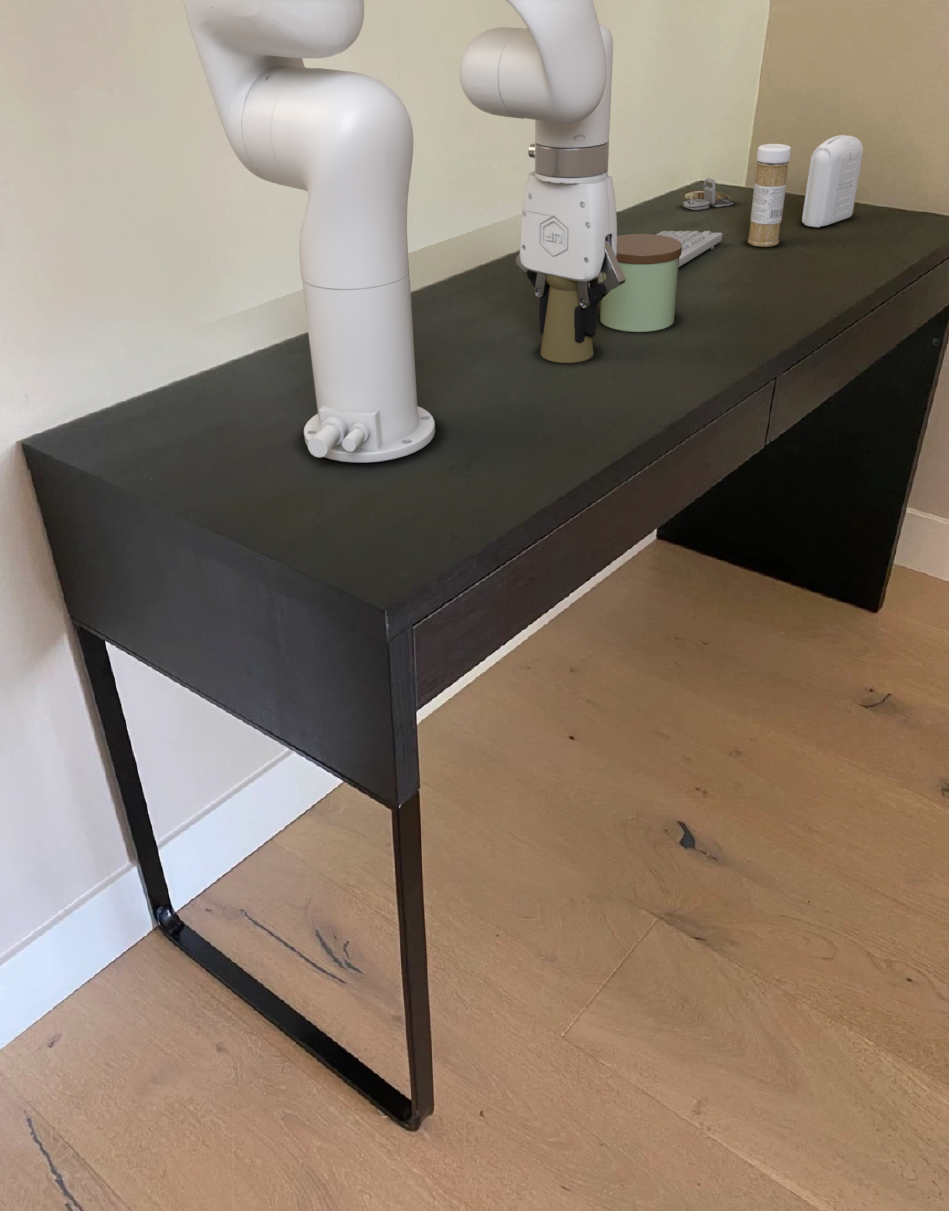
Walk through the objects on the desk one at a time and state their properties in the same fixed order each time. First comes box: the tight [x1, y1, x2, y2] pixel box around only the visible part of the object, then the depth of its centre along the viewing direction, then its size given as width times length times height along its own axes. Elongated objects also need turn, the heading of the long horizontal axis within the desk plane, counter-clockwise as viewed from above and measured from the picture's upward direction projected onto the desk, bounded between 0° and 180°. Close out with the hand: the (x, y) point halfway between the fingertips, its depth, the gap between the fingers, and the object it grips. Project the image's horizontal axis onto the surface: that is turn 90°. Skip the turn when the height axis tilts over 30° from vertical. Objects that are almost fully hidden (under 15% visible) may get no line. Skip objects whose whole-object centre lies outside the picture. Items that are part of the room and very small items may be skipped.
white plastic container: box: [801, 134, 864, 228], centre depth 159 cm, size 10×4×12 cm, turn 134°
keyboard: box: [589, 230, 723, 289], centre depth 145 cm, size 29×10×2 cm, turn 147°
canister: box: [599, 233, 682, 333], centre depth 124 cm, size 9×9×9 cm
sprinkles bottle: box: [747, 143, 792, 248], centre depth 149 cm, size 5×5×14 cm
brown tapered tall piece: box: [540, 275, 594, 364], centre depth 115 cm, size 6×6×11 cm
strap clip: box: [682, 178, 735, 211], centre depth 172 cm, size 8×3×4 cm, turn 113°
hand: (567, 333), depth 117 cm, fingers closed on brown tapered tall piece, 4 cm apart
